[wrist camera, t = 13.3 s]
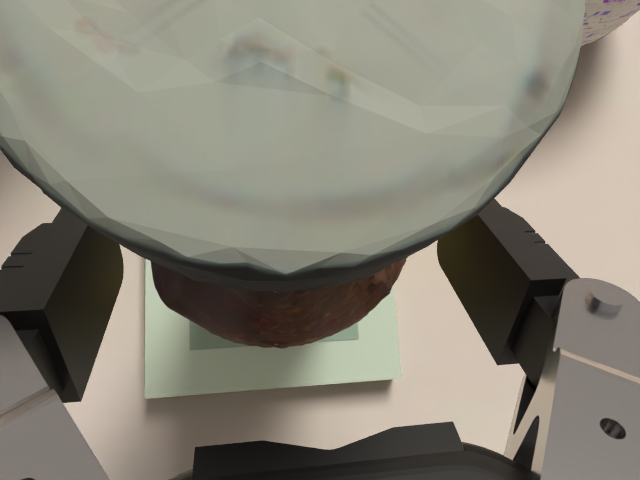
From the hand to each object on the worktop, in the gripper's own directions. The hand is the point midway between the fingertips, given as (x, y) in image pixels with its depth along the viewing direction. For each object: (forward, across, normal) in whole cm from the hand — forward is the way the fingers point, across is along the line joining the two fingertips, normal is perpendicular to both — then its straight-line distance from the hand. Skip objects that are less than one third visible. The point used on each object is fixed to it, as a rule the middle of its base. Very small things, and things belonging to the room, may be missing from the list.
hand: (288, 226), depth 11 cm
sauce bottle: (+9, 0, -8) cm, 12 cm away
